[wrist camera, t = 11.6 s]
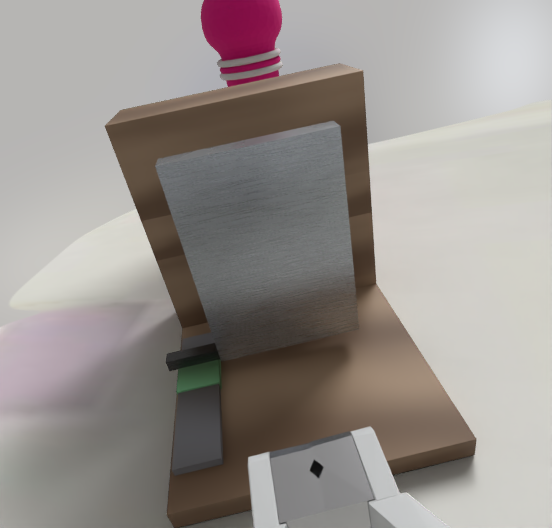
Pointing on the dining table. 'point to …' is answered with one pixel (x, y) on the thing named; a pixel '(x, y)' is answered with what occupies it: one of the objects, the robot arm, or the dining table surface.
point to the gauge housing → (296, 358)
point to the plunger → (265, 240)
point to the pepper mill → (243, 38)
